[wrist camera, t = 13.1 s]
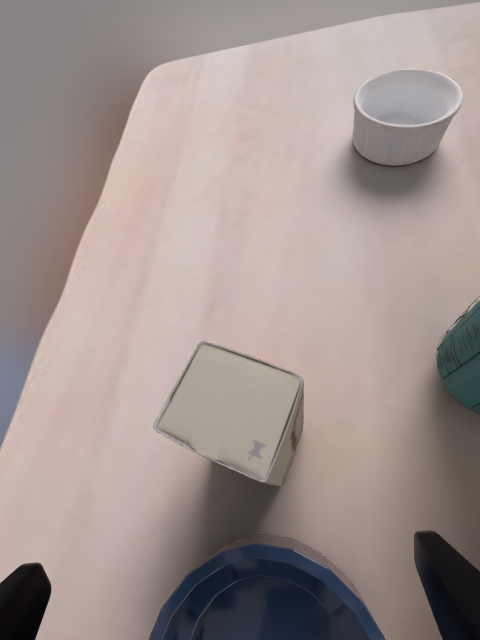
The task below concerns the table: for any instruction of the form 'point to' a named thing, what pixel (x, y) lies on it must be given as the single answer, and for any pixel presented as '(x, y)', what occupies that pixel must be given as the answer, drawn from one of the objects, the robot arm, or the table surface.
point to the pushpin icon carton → (236, 412)
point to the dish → (265, 597)
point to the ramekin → (403, 114)
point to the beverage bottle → (462, 359)
